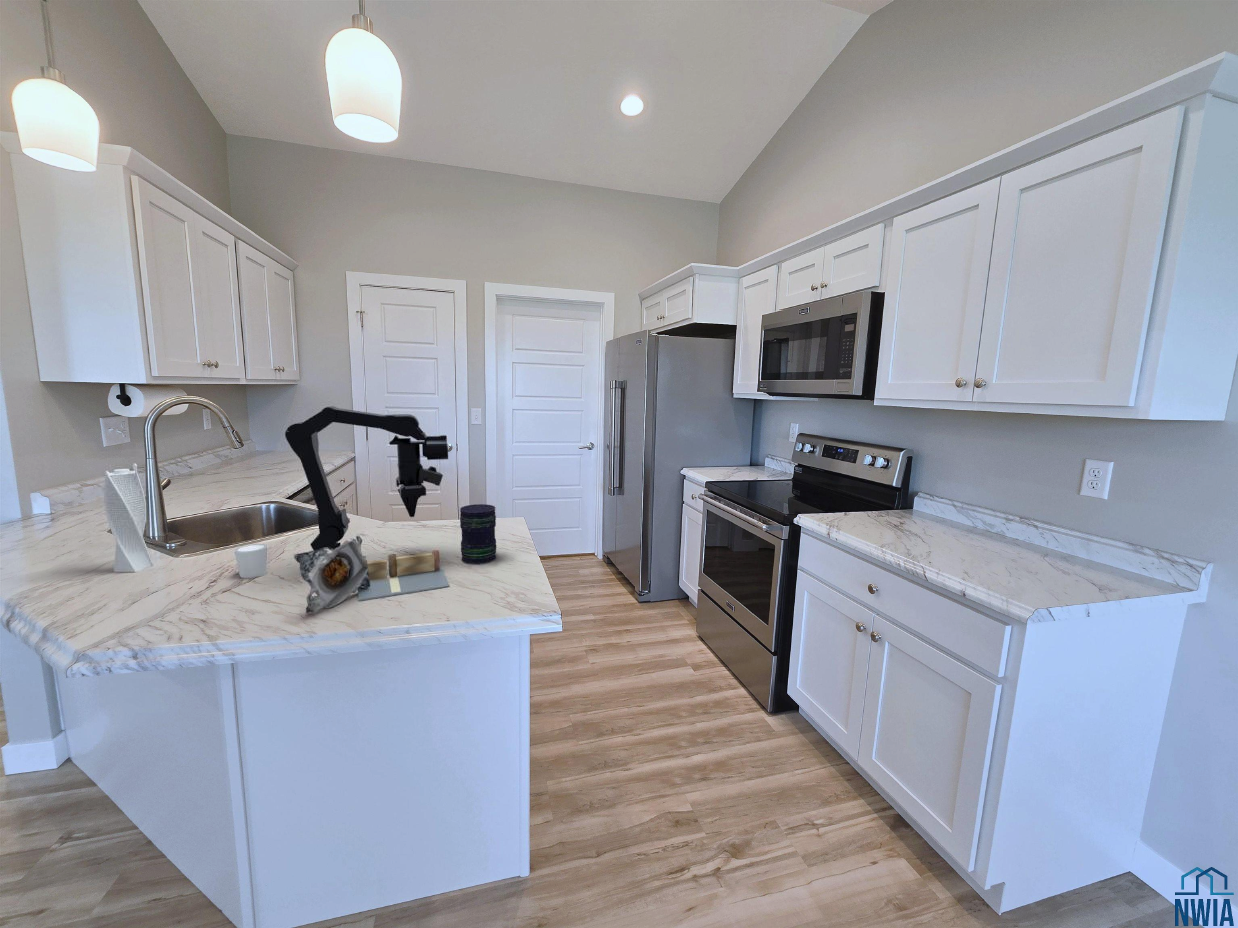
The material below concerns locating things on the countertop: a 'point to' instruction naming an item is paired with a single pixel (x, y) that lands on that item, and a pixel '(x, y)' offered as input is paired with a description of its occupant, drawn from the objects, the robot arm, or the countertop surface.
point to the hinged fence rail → (413, 563)
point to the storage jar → (478, 533)
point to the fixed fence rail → (377, 569)
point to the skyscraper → (127, 519)
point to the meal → (333, 573)
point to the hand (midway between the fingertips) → (411, 515)
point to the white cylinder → (251, 560)
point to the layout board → (403, 584)
